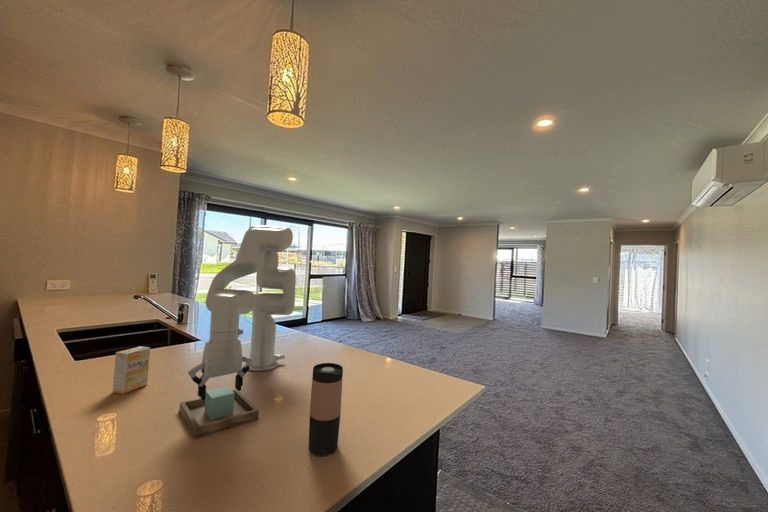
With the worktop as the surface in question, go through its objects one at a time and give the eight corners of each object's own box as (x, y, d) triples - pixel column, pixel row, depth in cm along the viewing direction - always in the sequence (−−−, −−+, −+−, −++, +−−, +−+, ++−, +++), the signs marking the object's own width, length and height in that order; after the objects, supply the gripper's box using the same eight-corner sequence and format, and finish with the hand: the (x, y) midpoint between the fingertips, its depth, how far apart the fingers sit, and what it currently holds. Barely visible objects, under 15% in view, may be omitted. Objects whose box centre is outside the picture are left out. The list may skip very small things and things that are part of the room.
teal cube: (226, 405, 95) (227, 386, 95) (233, 413, 90) (234, 393, 90) (204, 411, 90) (205, 391, 91) (210, 420, 86) (212, 398, 86)
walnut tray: (236, 396, 102) (236, 389, 102) (258, 418, 89) (258, 410, 90) (179, 410, 91) (180, 402, 91) (195, 438, 78) (195, 428, 78)
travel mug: (310, 438, 81) (314, 362, 82) (339, 438, 82) (344, 363, 82) (305, 457, 74) (310, 372, 74) (337, 457, 74) (342, 373, 75)
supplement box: (123, 394, 99) (126, 353, 99) (111, 392, 100) (114, 352, 100) (148, 385, 107) (151, 347, 107) (136, 383, 108) (139, 345, 108)
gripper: (249, 329, 100) (246, 382, 100) (187, 336, 88) (183, 396, 88) (258, 334, 94) (255, 390, 94) (193, 343, 82) (190, 407, 82)
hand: (220, 393), depth 91 cm, fingers open, 9 cm apart
